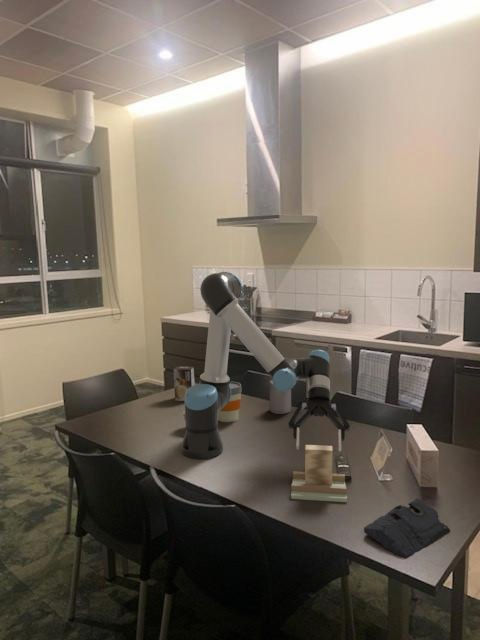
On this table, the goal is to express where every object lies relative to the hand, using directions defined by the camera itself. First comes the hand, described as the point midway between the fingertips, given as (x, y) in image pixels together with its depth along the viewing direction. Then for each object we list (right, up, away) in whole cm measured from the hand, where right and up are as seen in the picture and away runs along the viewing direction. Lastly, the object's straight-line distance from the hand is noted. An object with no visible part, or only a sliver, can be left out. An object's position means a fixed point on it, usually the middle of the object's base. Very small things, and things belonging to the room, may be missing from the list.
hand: (318, 448), depth 158 cm
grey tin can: (-7, 0, +63) cm, 64 cm away
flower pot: (-44, -3, +43) cm, 62 cm away
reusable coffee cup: (-31, -1, +54) cm, 62 cm away
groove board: (-2, -10, -10) cm, 14 cm away
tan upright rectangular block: (-2, -8, -10) cm, 13 cm away
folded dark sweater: (+17, -13, -32) cm, 39 cm away
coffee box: (-53, +2, +83) cm, 98 cm away
